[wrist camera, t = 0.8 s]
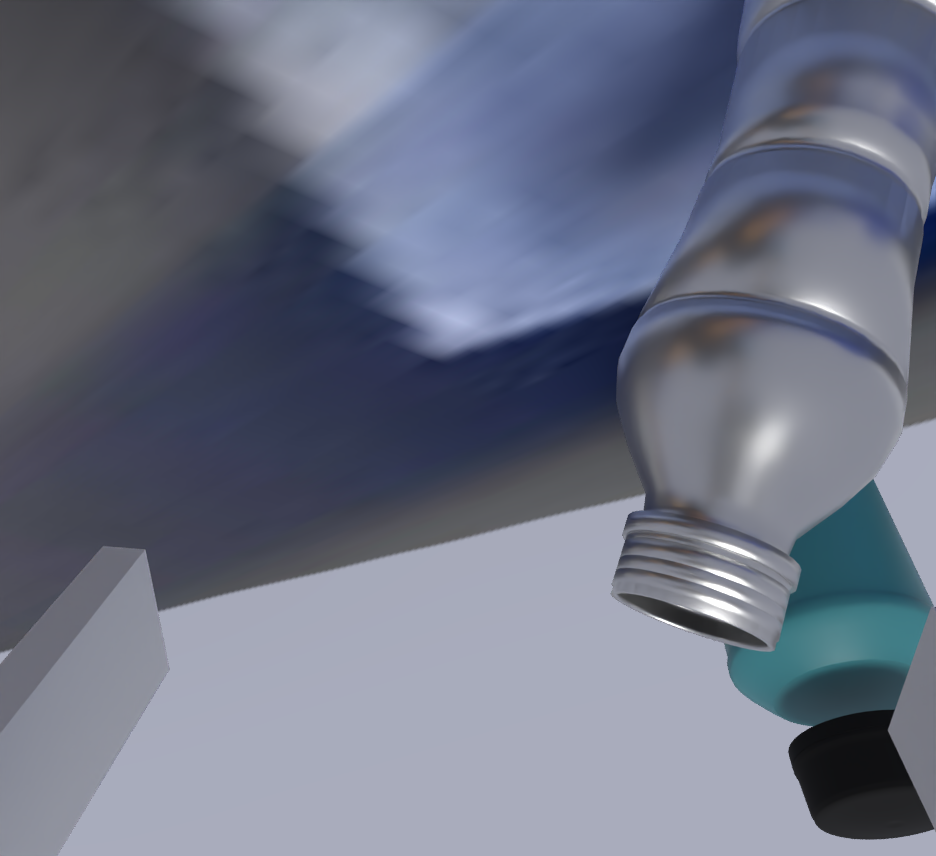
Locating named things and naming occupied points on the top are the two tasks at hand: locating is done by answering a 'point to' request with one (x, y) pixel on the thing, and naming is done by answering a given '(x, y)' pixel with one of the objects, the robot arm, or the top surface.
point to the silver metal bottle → (780, 314)
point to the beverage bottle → (846, 670)
